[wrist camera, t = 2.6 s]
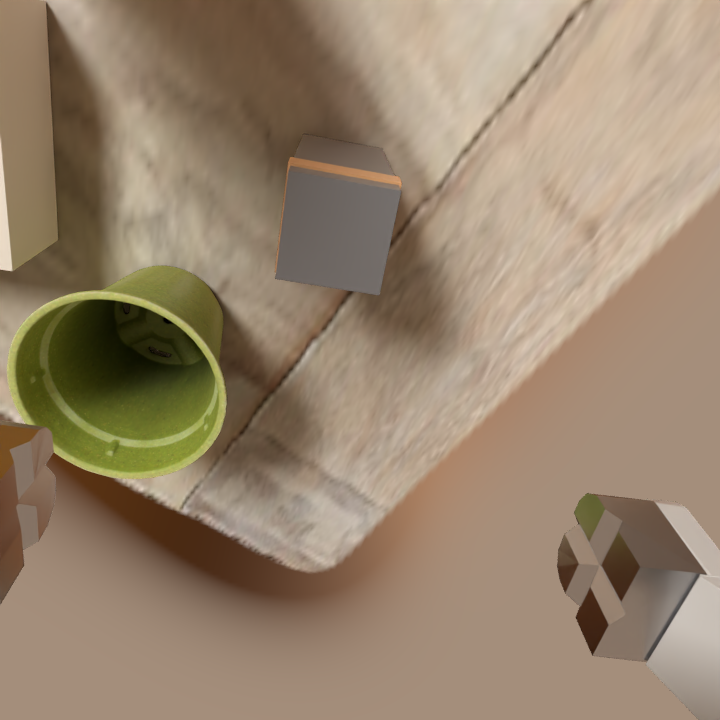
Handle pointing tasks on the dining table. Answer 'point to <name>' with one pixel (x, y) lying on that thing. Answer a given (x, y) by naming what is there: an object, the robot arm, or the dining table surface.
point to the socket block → (25, 135)
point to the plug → (337, 215)
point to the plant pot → (124, 374)
